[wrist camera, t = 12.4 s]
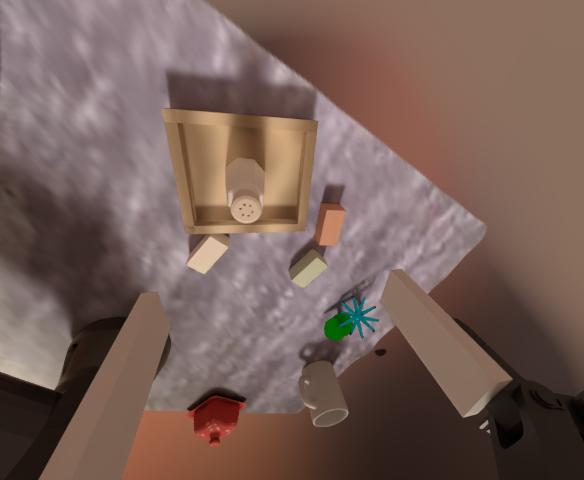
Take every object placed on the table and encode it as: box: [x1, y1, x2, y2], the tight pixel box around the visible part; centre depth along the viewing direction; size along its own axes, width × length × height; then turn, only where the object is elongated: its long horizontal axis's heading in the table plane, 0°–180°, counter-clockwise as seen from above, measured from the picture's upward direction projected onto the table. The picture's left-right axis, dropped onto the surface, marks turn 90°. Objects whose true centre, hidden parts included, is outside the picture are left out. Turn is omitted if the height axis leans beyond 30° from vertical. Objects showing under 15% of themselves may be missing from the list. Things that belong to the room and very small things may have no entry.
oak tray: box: [162, 108, 318, 234], centre depth 28 cm, size 16×14×3 cm
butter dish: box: [187, 396, 246, 447], centre depth 55 cm, size 12×12×8 cm
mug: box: [299, 360, 348, 427], centre depth 53 cm, size 12×8×11 cm
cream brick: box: [186, 233, 229, 274], centre depth 33 cm, size 6×3×3 cm, turn 136°
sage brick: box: [289, 248, 328, 288], centre depth 38 cm, size 6×3×3 cm, turn 135°
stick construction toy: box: [324, 296, 379, 341], centre depth 46 cm, size 12×7×8 cm
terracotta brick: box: [314, 203, 346, 245], centre depth 35 cm, size 6×3×3 cm, turn 173°
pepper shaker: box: [225, 157, 265, 223], centre depth 24 cm, size 5×5×11 cm
